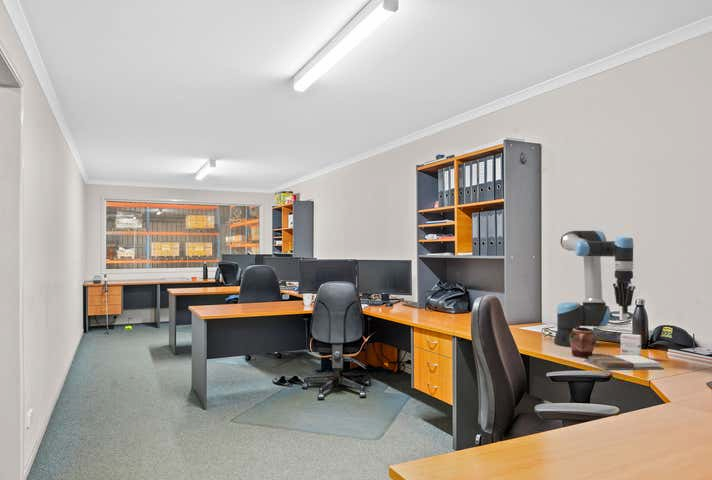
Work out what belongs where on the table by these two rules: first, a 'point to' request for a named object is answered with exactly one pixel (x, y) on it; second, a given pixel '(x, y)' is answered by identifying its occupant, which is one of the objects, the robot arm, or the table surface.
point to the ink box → (630, 344)
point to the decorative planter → (582, 342)
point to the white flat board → (639, 360)
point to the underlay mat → (623, 368)
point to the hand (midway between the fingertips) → (623, 319)
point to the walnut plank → (610, 362)
